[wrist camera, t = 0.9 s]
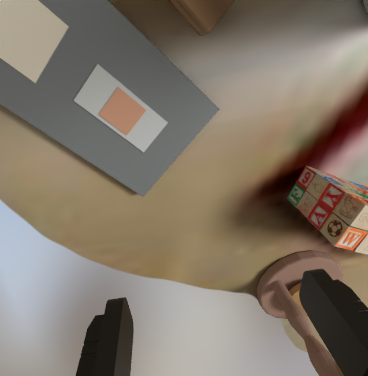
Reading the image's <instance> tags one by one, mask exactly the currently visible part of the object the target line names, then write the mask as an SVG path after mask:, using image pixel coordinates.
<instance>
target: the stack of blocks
mask: <svg viewBox="0 0 368 376" xmlns="http://www.w3.org/2000/svg"><path fill="white" fill-rule="evenodd" d="M287 199H288V200H289V201H290V202H291V203H292V204H293V205H294V207H296V208H297V209H298V210H299V211H300V212H301V213H302V214H303V215H304V216H305V217H306V218H307V219H308V221H309V222H310V223H312V224H313V225H314V227H316V228H317V229H318V230H319V231H320V232H321V233H322V234H323V235H324V236H325V237H326V238H327V239H328V240H329V241H330V242H331V243H332V244H333V245H334V246H336V247H340V248H344V249H349V250H353V251H355V252H358V253H363V254H368V187H366V186H361V185H359V184H356V183H353V182H350V181H347V180H344V179H341V178H338V177H335V176H333V175H330V174H328V173H325V172H322V171H319V170H317V169H314V168H311V167H308V166H305V168H304V169H303V171H302V173H301V175H300V176H299V178H298V180H297V181H296V183H295V185H294V187H293V188H292V190H291V192H290V193H289V195H288V197H287Z"/></svg>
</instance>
